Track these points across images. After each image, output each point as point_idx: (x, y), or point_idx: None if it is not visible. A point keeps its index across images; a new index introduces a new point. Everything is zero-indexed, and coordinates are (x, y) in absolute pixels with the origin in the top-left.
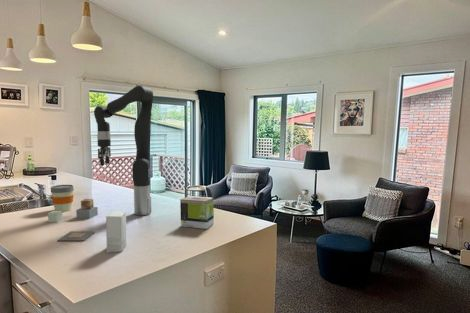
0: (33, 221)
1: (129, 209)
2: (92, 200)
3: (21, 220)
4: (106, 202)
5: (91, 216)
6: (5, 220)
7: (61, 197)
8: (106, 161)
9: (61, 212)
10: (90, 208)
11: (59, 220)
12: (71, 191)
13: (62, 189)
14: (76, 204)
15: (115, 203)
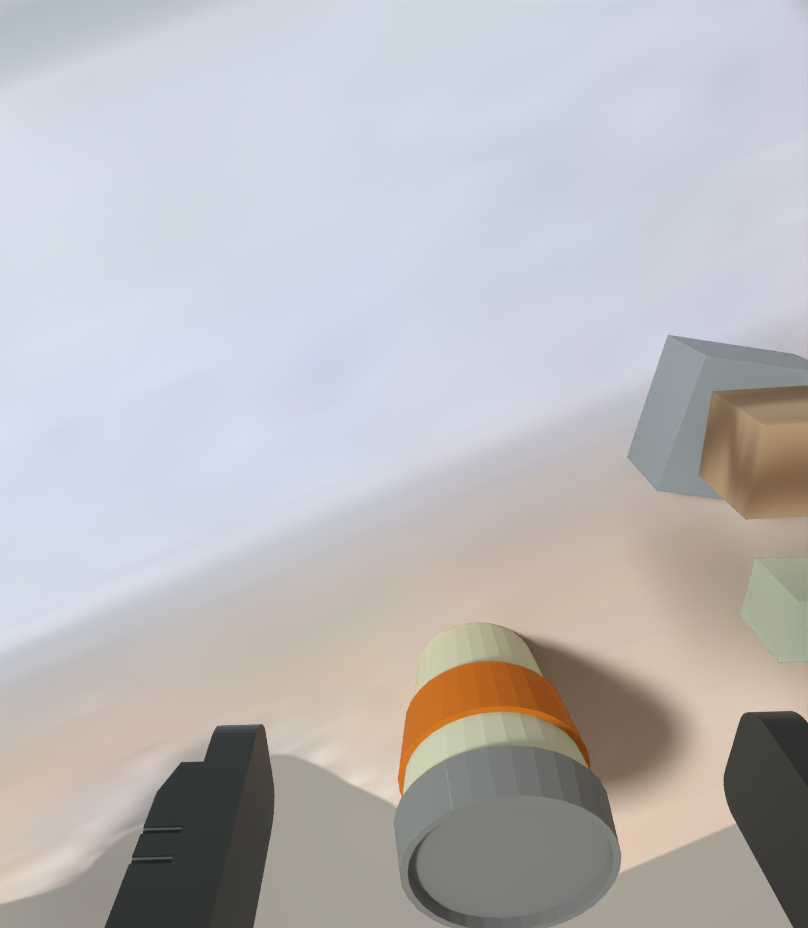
0: (764, 700)
1: (469, 37)
2: (783, 418)
3: (720, 768)
4: (166, 448)
5: (773, 353)
6: (700, 835)
7: (586, 749)
8: (253, 868)
9: (802, 593)
10: (804, 388)
11: (801, 559)
12: (519, 745)
13: (610, 817)
14: (282, 662)
15: (193, 334)
